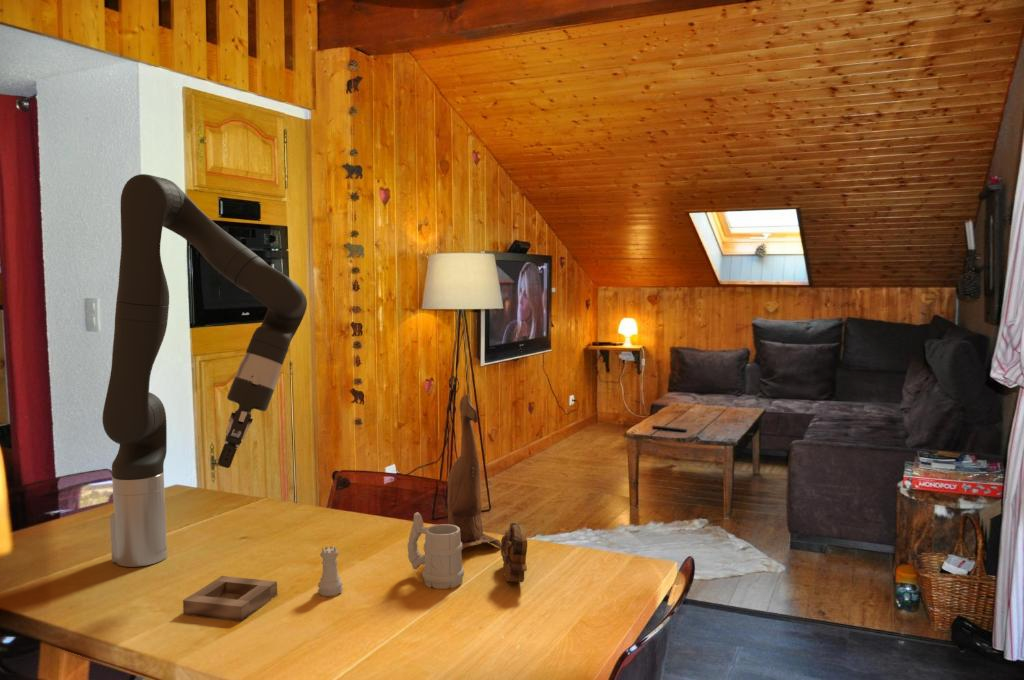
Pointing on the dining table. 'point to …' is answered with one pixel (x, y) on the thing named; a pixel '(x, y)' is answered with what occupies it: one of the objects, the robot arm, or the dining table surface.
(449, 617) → the dining table surface
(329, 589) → the rook chess piece
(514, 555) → the wooden carving
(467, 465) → the bird sculpture
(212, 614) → the square tray
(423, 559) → the mug
